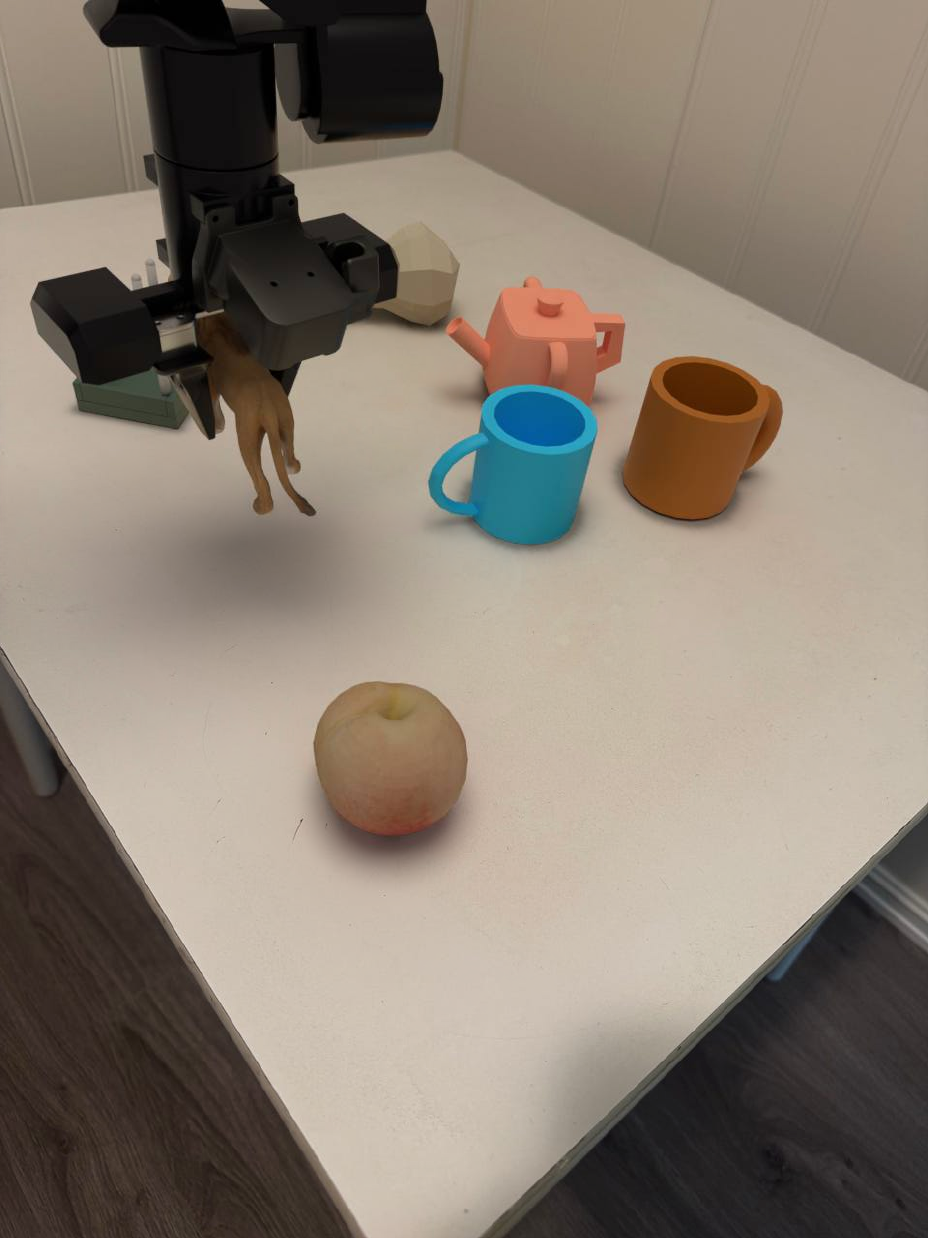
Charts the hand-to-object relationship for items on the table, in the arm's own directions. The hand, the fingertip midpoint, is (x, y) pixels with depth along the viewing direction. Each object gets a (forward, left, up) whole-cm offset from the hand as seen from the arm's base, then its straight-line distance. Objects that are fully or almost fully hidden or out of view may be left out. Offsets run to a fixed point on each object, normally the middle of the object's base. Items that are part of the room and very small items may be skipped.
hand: (241, 424), depth 53 cm
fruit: (+13, -16, -11) cm, 24 cm away
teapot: (+16, +25, -11) cm, 32 cm away
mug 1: (+16, +9, -11) cm, 21 cm away
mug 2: (+31, +17, -11) cm, 37 cm away
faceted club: (-4, +33, -11) cm, 35 cm away
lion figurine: (0, 0, -2) cm, 2 cm away
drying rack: (-14, +19, -11) cm, 26 cm away
